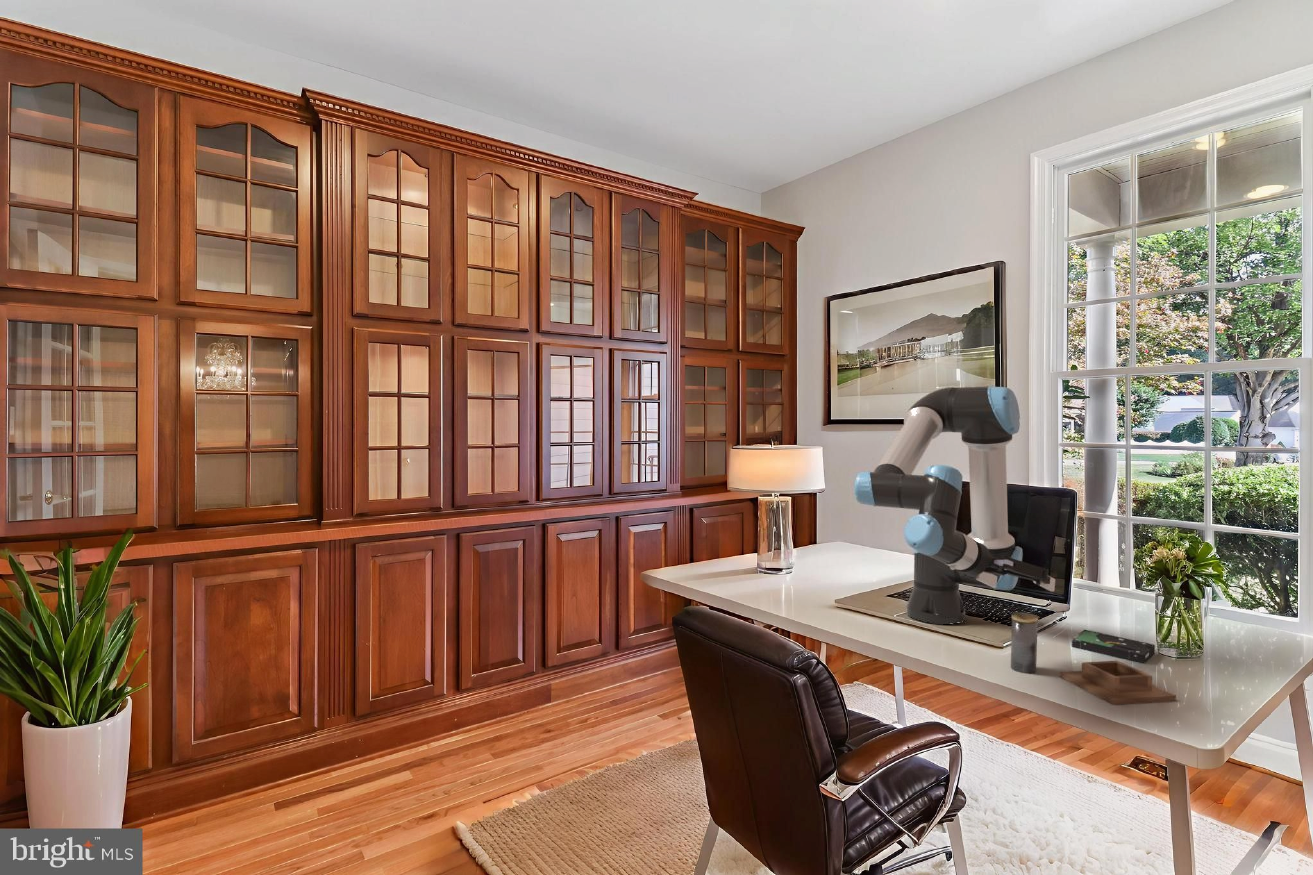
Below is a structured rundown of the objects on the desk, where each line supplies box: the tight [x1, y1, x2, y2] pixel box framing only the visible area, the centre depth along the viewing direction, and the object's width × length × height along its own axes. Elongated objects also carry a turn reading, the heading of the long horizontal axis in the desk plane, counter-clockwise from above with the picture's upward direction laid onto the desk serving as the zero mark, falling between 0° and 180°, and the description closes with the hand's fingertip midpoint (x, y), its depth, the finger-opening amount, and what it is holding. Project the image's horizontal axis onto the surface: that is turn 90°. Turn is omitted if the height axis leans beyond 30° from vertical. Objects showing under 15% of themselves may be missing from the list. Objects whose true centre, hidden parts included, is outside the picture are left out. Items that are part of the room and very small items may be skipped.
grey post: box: [1010, 611, 1039, 675], centre depth 149 cm, size 5×5×12 cm
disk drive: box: [1071, 629, 1156, 665], centre depth 161 cm, size 10×3×15 cm
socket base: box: [1059, 660, 1177, 706], centre depth 139 cm, size 14×14×4 cm
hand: (1023, 583), depth 152 cm, fingers open, 13 cm apart
